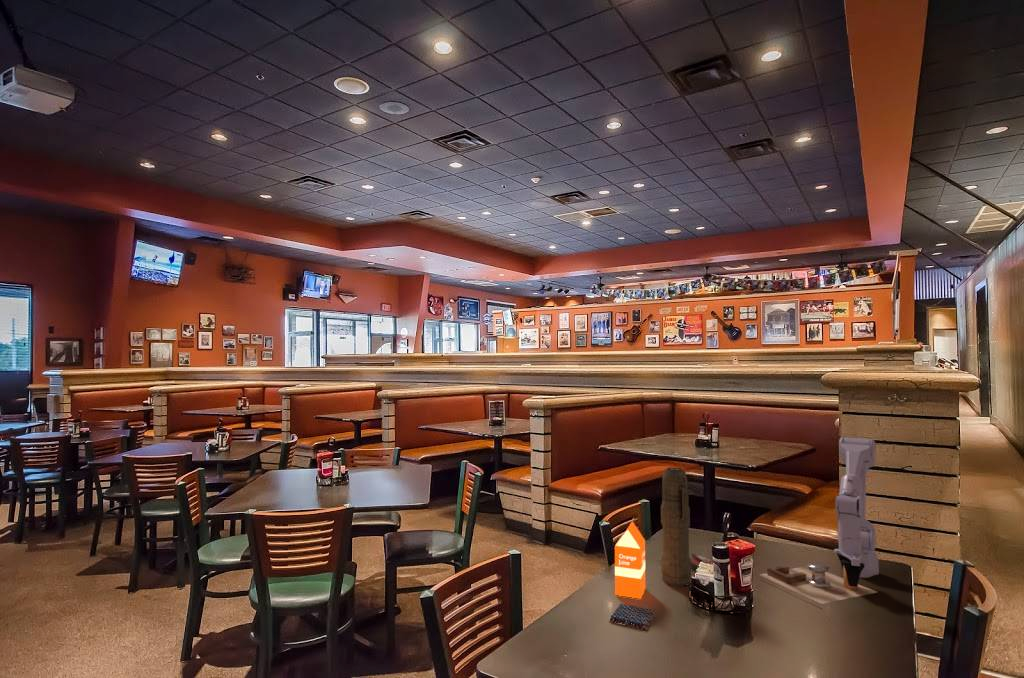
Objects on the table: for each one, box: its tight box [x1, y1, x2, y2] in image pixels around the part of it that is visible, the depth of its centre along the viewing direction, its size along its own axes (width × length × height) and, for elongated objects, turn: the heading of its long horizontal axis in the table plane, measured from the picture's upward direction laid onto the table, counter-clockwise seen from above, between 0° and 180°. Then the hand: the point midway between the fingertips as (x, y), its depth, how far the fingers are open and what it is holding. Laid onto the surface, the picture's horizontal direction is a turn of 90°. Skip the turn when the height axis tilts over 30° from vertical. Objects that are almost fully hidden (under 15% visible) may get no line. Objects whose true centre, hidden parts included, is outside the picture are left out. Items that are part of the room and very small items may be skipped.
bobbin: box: [806, 561, 831, 588], centre depth 171 cm, size 6×6×6 cm
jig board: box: [759, 565, 878, 610], centre depth 172 cm, size 22×23×2 cm
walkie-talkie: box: [690, 553, 712, 572], centre depth 188 cm, size 9×4×20 cm
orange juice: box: [614, 520, 646, 600], centre depth 170 cm, size 8×9×20 cm
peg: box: [842, 565, 858, 590], centre depth 168 cm, size 4×4×7 cm
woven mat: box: [609, 602, 656, 631], centre depth 152 cm, size 10×11×2 cm
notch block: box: [766, 565, 806, 584], centre depth 176 cm, size 8×8×2 cm
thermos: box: [660, 466, 692, 587], centre depth 178 cm, size 9×12×35 cm
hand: (850, 582), depth 168 cm, fingers open, 5 cm apart
